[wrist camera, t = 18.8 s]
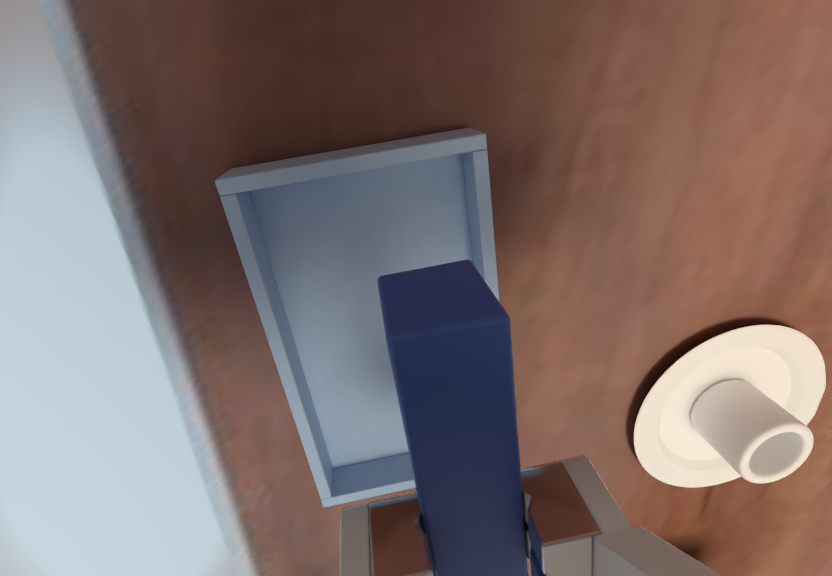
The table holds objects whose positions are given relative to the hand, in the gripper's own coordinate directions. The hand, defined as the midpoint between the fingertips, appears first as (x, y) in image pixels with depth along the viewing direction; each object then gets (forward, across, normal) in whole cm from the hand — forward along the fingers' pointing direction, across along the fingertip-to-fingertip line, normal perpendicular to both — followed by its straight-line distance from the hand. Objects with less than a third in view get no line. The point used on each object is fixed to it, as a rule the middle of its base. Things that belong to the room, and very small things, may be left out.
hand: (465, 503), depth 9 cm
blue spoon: (+2, 0, +2) cm, 3 cm away
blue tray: (+14, +1, +3) cm, 14 cm away
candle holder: (+14, -18, +13) cm, 26 cm away
